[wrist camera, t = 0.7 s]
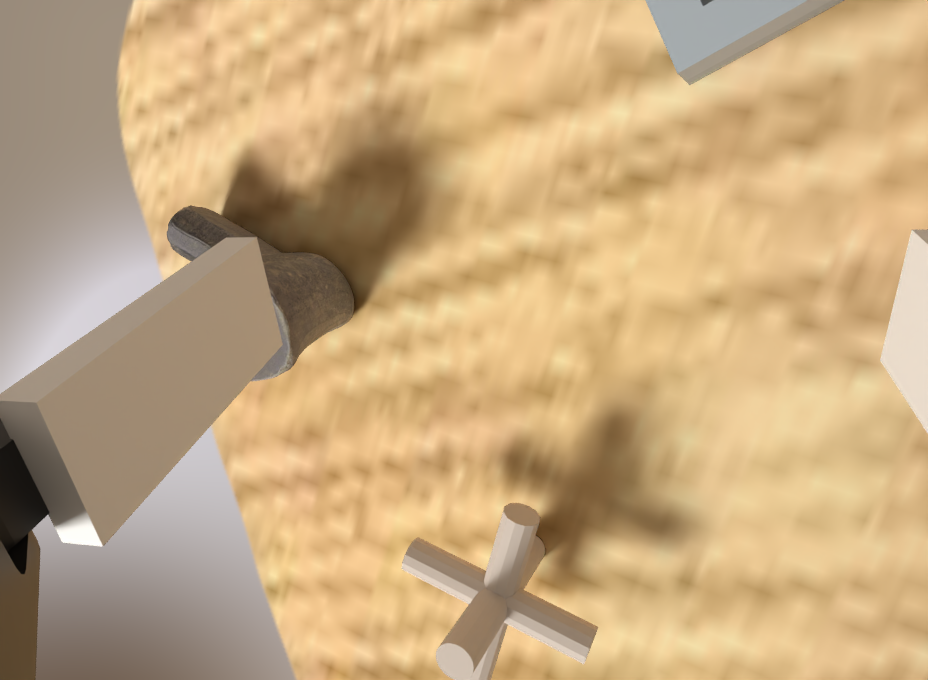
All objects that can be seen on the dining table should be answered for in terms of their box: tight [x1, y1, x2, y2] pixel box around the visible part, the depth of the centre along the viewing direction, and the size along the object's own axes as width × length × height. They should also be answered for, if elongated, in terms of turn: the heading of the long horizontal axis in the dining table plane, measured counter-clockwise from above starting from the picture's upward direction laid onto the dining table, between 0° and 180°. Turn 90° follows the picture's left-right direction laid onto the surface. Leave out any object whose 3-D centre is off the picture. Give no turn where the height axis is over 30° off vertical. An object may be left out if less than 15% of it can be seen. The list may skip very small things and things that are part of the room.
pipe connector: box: [402, 503, 598, 680], centre depth 34 cm, size 10×10×10 cm
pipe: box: [167, 206, 354, 381], centre depth 37 cm, size 6×13×8 cm, turn 67°
